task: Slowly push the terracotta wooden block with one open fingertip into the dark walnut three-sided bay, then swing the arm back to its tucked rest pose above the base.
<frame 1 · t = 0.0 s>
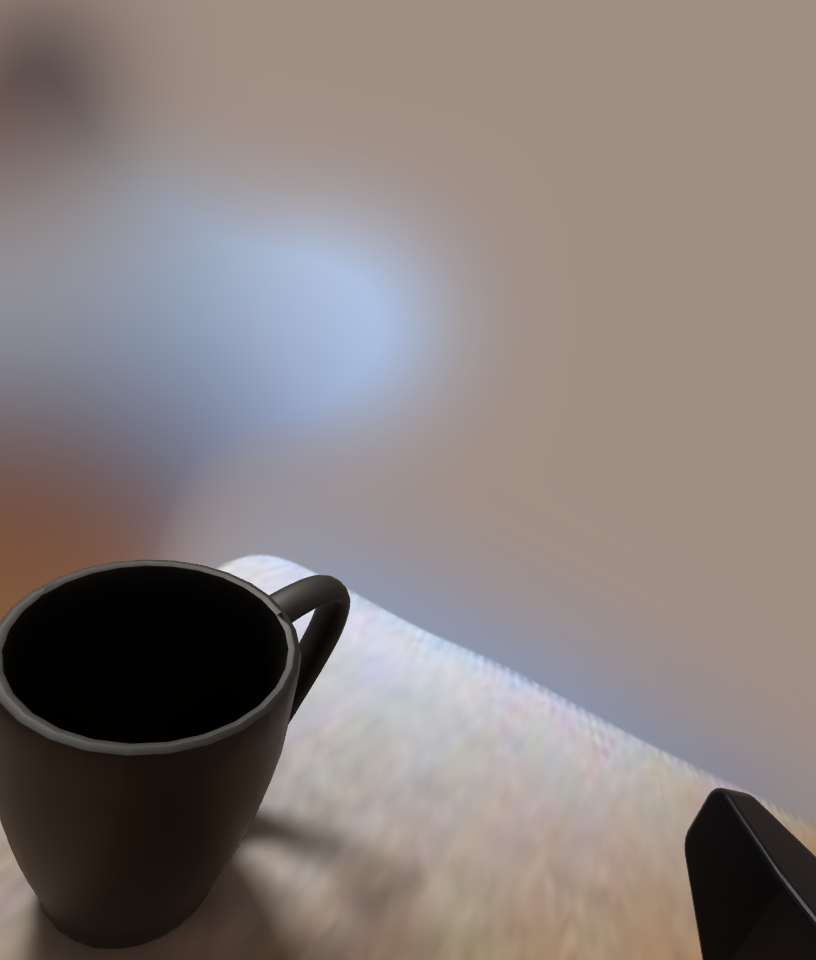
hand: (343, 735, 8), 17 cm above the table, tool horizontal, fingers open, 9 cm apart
mug: (182, 835, 24), on the table
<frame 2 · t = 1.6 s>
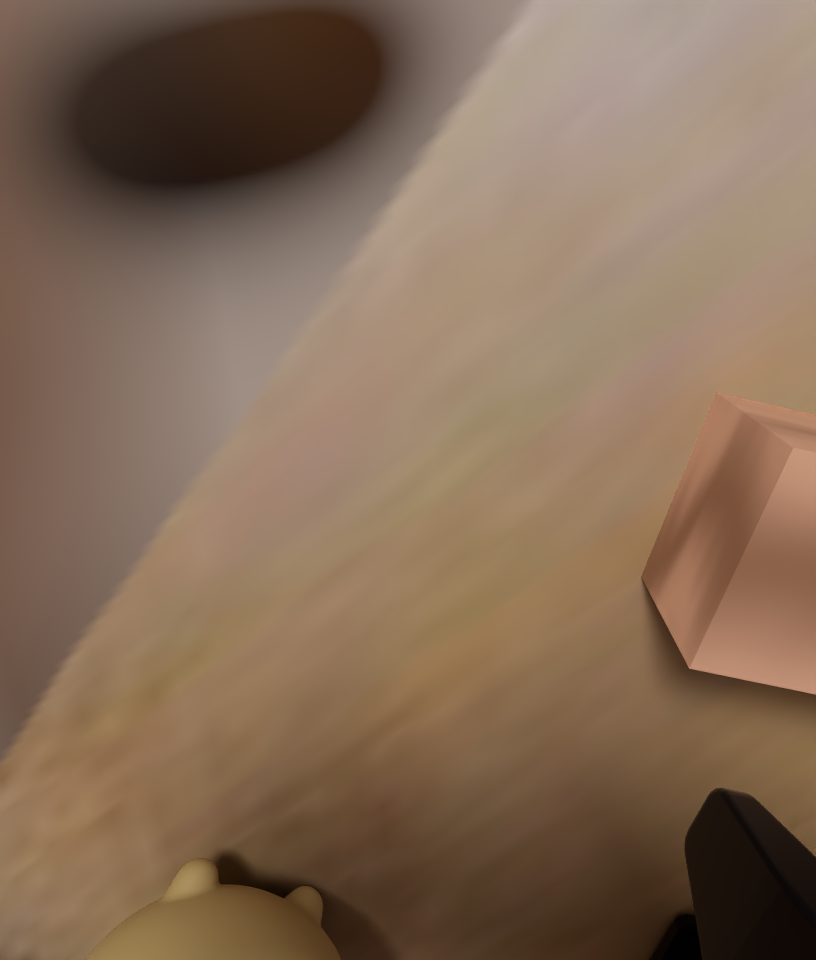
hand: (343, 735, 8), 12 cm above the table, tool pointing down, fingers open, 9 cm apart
terracotta block: (772, 509, 20), on the table
toy pig: (264, 908, 28), on the table
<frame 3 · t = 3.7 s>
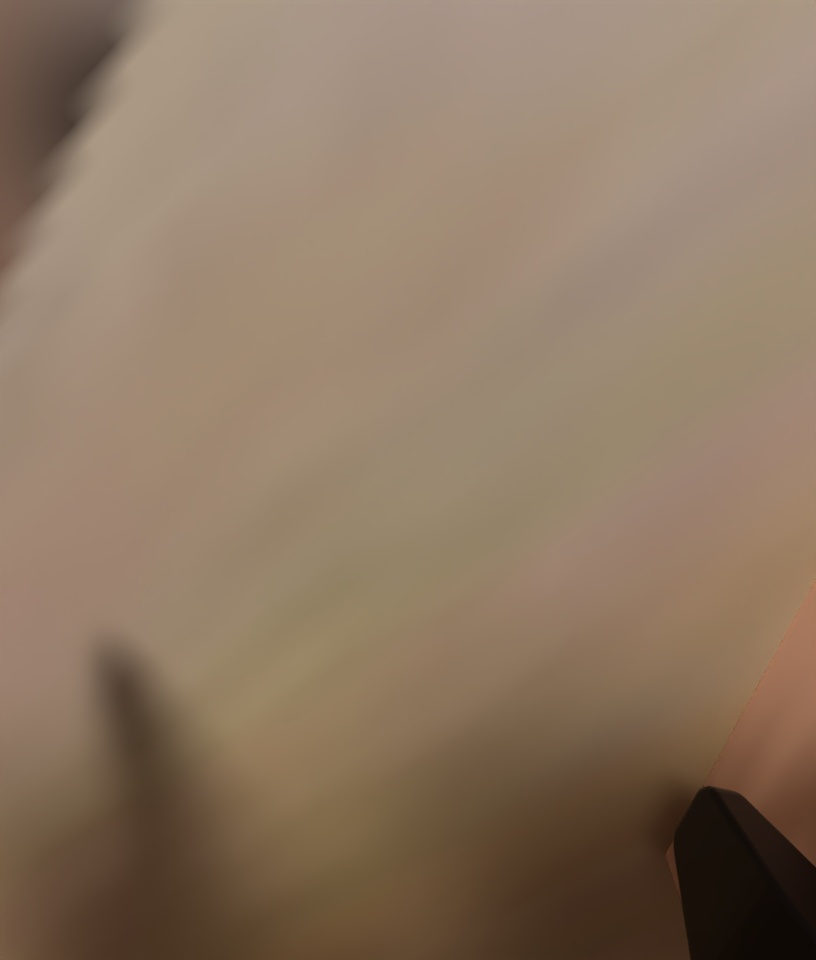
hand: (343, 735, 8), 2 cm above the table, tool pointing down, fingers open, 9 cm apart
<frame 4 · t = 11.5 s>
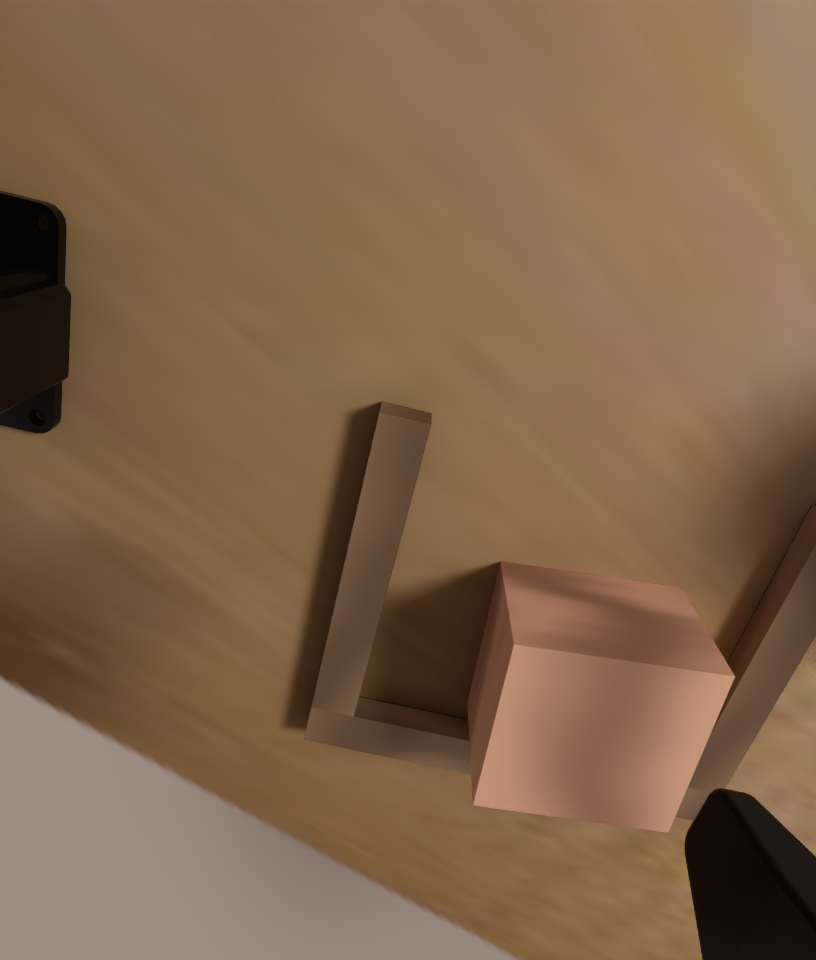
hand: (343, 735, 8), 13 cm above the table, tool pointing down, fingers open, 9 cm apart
terracotta block: (568, 645, 23), resting in walnut bay
walnut bay: (565, 608, 22), on the table
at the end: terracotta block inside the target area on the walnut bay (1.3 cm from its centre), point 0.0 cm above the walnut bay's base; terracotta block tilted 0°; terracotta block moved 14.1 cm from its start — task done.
